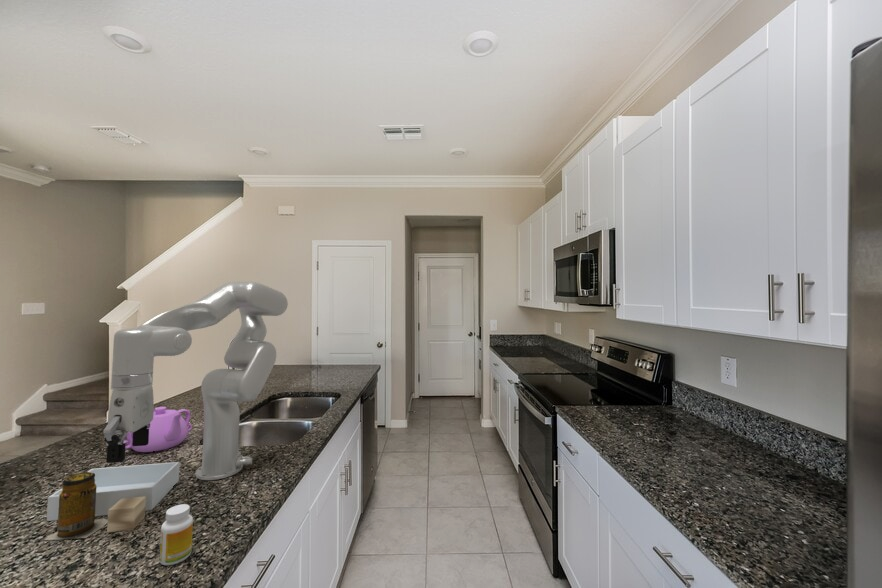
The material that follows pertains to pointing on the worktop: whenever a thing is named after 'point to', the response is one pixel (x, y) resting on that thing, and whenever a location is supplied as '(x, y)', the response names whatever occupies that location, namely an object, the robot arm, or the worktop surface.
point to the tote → (126, 486)
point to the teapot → (164, 430)
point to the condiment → (77, 508)
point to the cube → (126, 514)
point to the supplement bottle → (176, 535)
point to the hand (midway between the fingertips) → (128, 453)
